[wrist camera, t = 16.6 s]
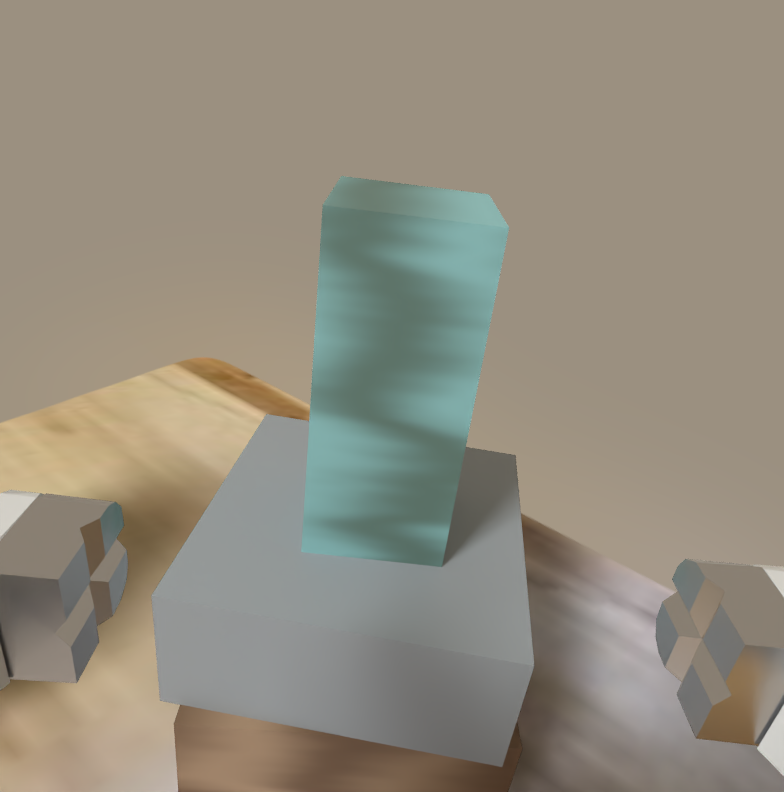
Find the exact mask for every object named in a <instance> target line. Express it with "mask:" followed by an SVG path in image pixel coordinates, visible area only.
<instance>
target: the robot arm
mask: <svg viewBox="0 0 784 792" xmlns="http://www.w3.org/2000/svg"><path fill="white" fill-rule="evenodd" d="M123 526H124V522H123V515H122V508H121V506H120V505H118V504H117V503H116V502H111V501H103V500H95V499H87V498H79V497H70V496H62V495H54V494H41V493H33V492H25V491H16V490H8V491H6V492H3V493H0V690H2V689H3V688H4V687H5V686H7V685H8V684H9V683H10V679H16V680H33V681H49V682H66V683H77V682H78V680H79V678H80V676H81V674H82V673H83V671H84V669H85V667H86V665H87V663H88V661H89V660H90V658H91V656H92V654H93V652H94V650H95V648H96V647H97V645H98V643H99V638H98V631H97V626H98V625H100V624H101V623H103V622H104V621H106V620H107V619H109V618H110V617H112V616H113V614H114V612H115V610H116V608H117V606H118V604H119V602H120V600H121V598H122V594H123V591H124V587H125V583H126V580H127V569H128V559H127V550H126V548H125V547H124V546H123V545H122V544H121V543H120V542H119V541H118V540H117V539H116V538H117V536H118V535H119V533H120V531H121V530H122V528H123ZM672 580H673V582H674V584H675V586H676V589H677V592H676V593H675V594H673V595H672V596H670V597H669V598H667V599H666V600H664V601H663V602H662V605H661V608H660V610H659V613H658V616H657V618H656V641H657V646H658V651H659V654H660V656H661V659H662V661H663V664H664V666H665V668H666V669H667V670H669V671H670V672H671V673H672V674H673V675H674V676H675V677H676V678H678V679H679V680H680V681H681V685H680V687H679V690H678V693H677V696H678V699H679V701H680V703H681V705H682V708H683V710H684V712H685V715H686V717H687V719H688V721H689V724H690V726H691V728H692V731H693V733H694V735H695V737H696V738H697V739H705V740H714V741H722V742H731V743H739V744H748V745H756V746H758V748H757V749H758V750H759V751H760V752H761V753H762V754H763V756H764V757H765V758H766V759H767V760H768V761H769V762H770V763H771V764H772V765H773V766H774V767H775V768H776V769H777V770H778V771H779V772H780V773H781V774H782V775H783V776H784V567H780V566H768V565H745V564H734V563H723V562H713V561H702V560H691V559H685V560H684V561H683V562H682V563H681V564H680V565H679V566H678V567H677V569H676V572H675V574H674V576H673V579H672Z"/></svg>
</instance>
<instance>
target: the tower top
mask: <svg viewBox="0 0 784 792" xmlns="http://www.w3.org/2000/svg"><path fill="white" fill-rule="evenodd" d="M308 436H309V421H305V420H299V419H293V418H287V417H281V416H274V415H268V414H266V416H265V417H264V419H263V420H262V422H261V424H260V425H259V427H258V428H257V430H256V431H255V433H254V435H253V436H252V438H251V439H250V441H249V443H248V444H247V446H246V447H245V449H244V450H243V452H242V454H241V455H240V457H239V458H238V460H237V461H236V463H235V465H234V466H233V468H232V469H231V471H230V472H229V474H228V476H227V477H226V479H225V480H224V482H223V484H222V485H221V487H220V488H219V490H218V491H217V493H216V495H215V496H214V498H213V499H212V501H211V502H210V504H209V506H208V507H207V509H206V510H205V512H204V513H203V515H202V517H201V518H200V520H199V521H198V523H197V524H196V526H195V528H194V529H193V531H192V532H191V534H190V536H189V537H188V539H187V540H186V542H185V543H184V545H183V547H182V548H181V550H180V551H179V553H178V554H177V556H176V558H175V559H174V561H173V562H172V564H171V565H170V567H169V569H168V570H167V572H166V573H165V575H164V577H163V578H162V580H161V581H160V583H159V584H158V586H157V588H156V589H155V591H154V592H153V594H152V595H151V596H152V608H153V620H154V632H155V645H156V657H157V669H158V681H159V693H160V701H164V702H169V703H175V704H180V705H185V706H190V707H196V708H201V709H206V710H211V711H216V712H221V713H227V714H232V715H237V716H242V717H247V718H252V719H257V720H263V721H268V722H273V723H278V724H283V725H288V726H293V727H299V728H304V729H309V730H314V731H319V732H324V733H329V734H335V735H340V736H345V737H350V738H355V739H360V740H365V741H370V742H376V743H381V744H386V745H391V746H396V747H401V748H407V749H412V750H417V751H422V752H427V753H432V754H438V755H443V756H448V757H453V758H458V759H463V760H468V761H474V762H479V763H484V764H489V765H494V766H499V767H502V766H503V763H504V760H505V757H506V753H507V750H508V747H509V744H510V741H511V738H512V735H513V731H514V728H515V725H516V722H517V719H518V716H519V713H520V709H521V706H522V703H523V700H524V697H525V694H526V691H527V687H528V684H529V681H530V678H531V675H532V672H533V669H534V656H533V645H532V634H531V623H530V612H529V600H528V589H527V578H526V567H525V556H524V545H523V533H522V522H521V511H520V500H519V489H518V478H517V466H516V456H515V455H511V454H505V453H499V452H492V451H487V450H480V449H475V448H469V447H466V448H465V453H464V458H463V463H462V468H461V473H460V478H459V483H458V488H457V493H456V498H455V503H454V508H453V513H452V518H451V523H450V528H449V533H448V539H447V544H446V549H445V554H444V559H443V564H442V567H437V566H428V565H418V564H409V563H400V562H390V561H381V560H372V559H362V558H353V557H344V556H334V555H325V554H316V553H306V552H301V548H302V532H303V516H304V500H305V484H306V468H307V452H308Z"/></svg>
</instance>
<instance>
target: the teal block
mask: <svg viewBox="0 0 784 792" xmlns="http://www.w3.org/2000/svg"><path fill="white" fill-rule="evenodd" d="M508 230H509V227H508V225H507V224H506V222H505V220H504V219H503V217H502V215H501V214H500V212H499V211H498V209H497V207H496V206H495V204H494V202H493V201H492V199H491V197H490V195H489V194H482V193H473V192H464V191H456V190H449V189H441V188H433V187H425V186H417V185H409V184H401V183H393V182H384V181H376V180H368V179H360V178H352V177H344V176H341V178H340V179H339V181H338V182H337V184H336V185H335V187H334V188H333V190H332V192H331V193H330V195H329V196H328V198H327V199H326V201H325V203H324V204H323V211H322V228H321V243H320V260H319V275H318V291H317V308H316V323H315V324H316V325H315V339H314V357H313V371H312V388H311V404H310V420H309V436H308V452H307V468H306V484H305V500H304V516H303V532H302V548H301V552H306V553H316V554H325V555H334V556H344V557H353V558H362V559H372V560H381V561H390V562H400V563H409V564H418V565H428V566H437V567H442V564H443V559H444V554H445V549H446V544H447V539H448V533H449V528H450V523H451V518H452V513H453V508H454V503H455V498H456V493H457V488H458V483H459V478H460V473H461V468H462V463H463V458H464V453H465V448H466V443H467V437H468V432H469V427H470V422H471V417H472V412H473V407H474V402H475V397H476V392H477V387H478V382H479V377H480V371H481V366H482V362H483V356H484V351H485V346H486V342H487V336H488V331H489V326H490V321H491V316H492V311H493V306H494V301H495V296H496V291H497V286H498V280H499V276H500V270H501V265H502V260H503V256H504V251H505V245H506V240H507V235H508Z"/></svg>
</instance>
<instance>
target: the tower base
mask: <svg viewBox="0 0 784 792" xmlns="http://www.w3.org/2000/svg"><path fill="white" fill-rule="evenodd" d="M174 733H175V747H176V762H177V777H178V792H508V790H509V787H510V784H511V781H512V778H513V775H514V772H515V769H516V766H517V763H518V760H519V757H520V754H521V751H522V745H521V740H520V735H519V729H518V724H517V722H516V725H515V728H514V731H513V735H512V738H511V741H510V744H509V747H508V750H507V753H506V757H505V760H504V763H503V766H502V767H499V766H494V765H489V764H484V763H479V762H474V761H468V760H463V759H458V758H453V757H448V756H443V755H438V754H432V753H427V752H422V751H417V750H412V749H407V748H401V747H396V746H391V745H386V744H381V743H376V742H370V741H365V740H360V739H355V738H350V737H345V736H340V735H335V734H329V733H324V732H319V731H314V730H309V729H304V728H299V727H293V726H288V725H283V724H278V723H273V722H268V721H263V720H257V719H252V718H247V717H242V716H237V715H232V714H227V713H221V712H216V711H211V710H206V709H201V708H196V707H190V706H185V705H180V707H179V710H178V713H177V716H176V719H175V722H174Z"/></svg>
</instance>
